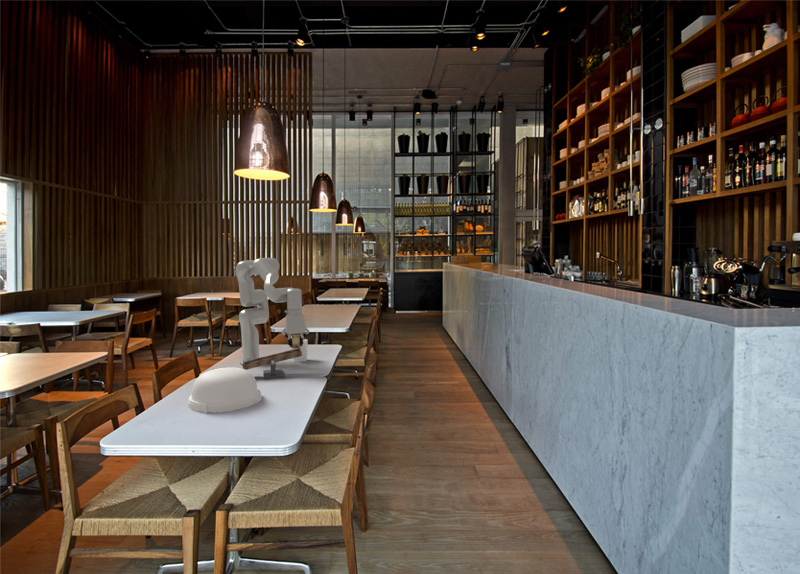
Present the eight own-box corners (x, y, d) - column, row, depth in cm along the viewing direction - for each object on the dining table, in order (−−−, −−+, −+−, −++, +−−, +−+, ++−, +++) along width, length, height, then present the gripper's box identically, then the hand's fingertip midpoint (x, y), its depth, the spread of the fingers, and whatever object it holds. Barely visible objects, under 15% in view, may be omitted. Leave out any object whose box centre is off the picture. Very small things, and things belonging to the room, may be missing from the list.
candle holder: (306, 362, 282) (305, 342, 281) (289, 362, 282) (288, 342, 281) (309, 358, 292) (309, 338, 291) (293, 358, 292) (292, 339, 291)
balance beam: (243, 370, 246) (241, 362, 245) (244, 366, 253) (242, 359, 253) (302, 355, 253) (300, 348, 253) (301, 352, 261) (299, 345, 260)
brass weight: (295, 348, 253) (294, 337, 252) (289, 347, 256) (288, 336, 255) (302, 347, 256) (302, 335, 256) (296, 345, 260) (296, 334, 259)
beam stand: (263, 379, 245) (262, 361, 244) (263, 372, 260) (262, 355, 259) (283, 377, 248) (283, 359, 247) (282, 370, 262) (281, 354, 262)
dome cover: (239, 415, 192) (238, 380, 191) (171, 412, 197) (169, 378, 196) (273, 392, 223) (272, 362, 222) (213, 390, 228) (212, 360, 227)
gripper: (278, 313, 249) (279, 348, 250) (311, 312, 253) (312, 346, 255) (277, 312, 256) (279, 346, 257) (310, 310, 261) (311, 343, 262)
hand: (295, 345), depth 256 cm, fingers closed on brass weight, 5 cm apart
